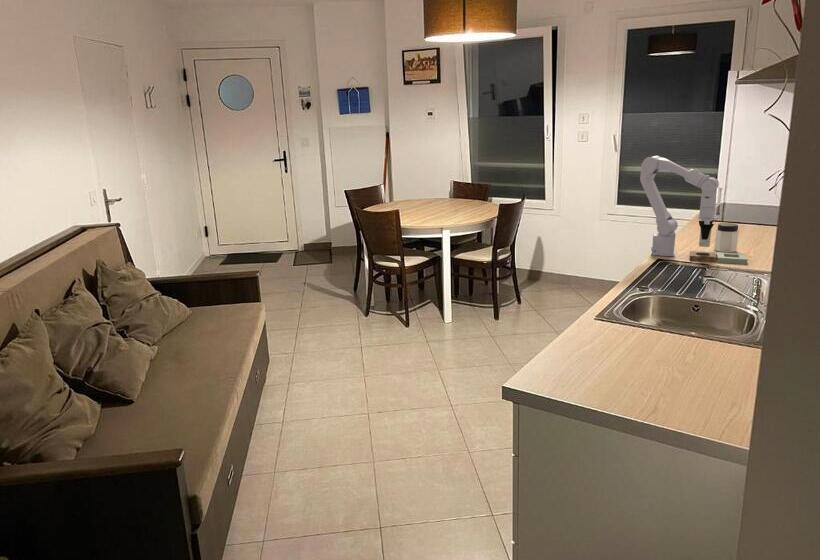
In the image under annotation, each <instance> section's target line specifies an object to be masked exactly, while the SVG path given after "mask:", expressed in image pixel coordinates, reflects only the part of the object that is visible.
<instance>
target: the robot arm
mask: <svg viewBox="0 0 820 560" xmlns="http://www.w3.org/2000/svg"><path fill="white" fill-rule="evenodd" d="M665 170H667V171H669V172H671V173H674V174H676V175H678V176H681V177H682V178H683V179H684V181H685V182H686V183H689V185H690V184H691V185H692V186H695V187H696V188H699V189H700V190H701V196H700V205H699V214H698V215H699V216H698V219H699V220H698V225H699V227H700V228H701V237H702V239H703V240H707V239H708V237H709V233H710V230H711V231H712V229H711V228H713V226H714V225H715V224H714V220H718V217H717V216H715V214H716V212H715V211H716V203H717V193H718V192H717V189H718V188H719V186H720V183H719V179H717V178H716V177H713V176H710V175H709V174H704V173H702V172H700V170H699V169H697V168H695V169H694V168H691V169H687V168H685V167H684V166H682V165H679V164H678V163H675V162H673V161H672V160H669V159H668V158H665V157H661V156H659V155H653V156H648V157H646V158H644V159H643V161H642V163H641V165H640V175H639V177H640V178H639V181H640V183H641V186H642V188H643V190H644V193H645V196H647V199H648V201H649V204H650V206H651V209H652V210H653V212H654V215H655V223H656V225H657V226H656V229H657V234H652V244H651V245H652V246H651V249H650V250H651V256H658V255H659V257H661V256H662V257H663V256H664V257H676V256H675V255H676V254H675V253H676V252H675V246H676V245H675V244H676V231H677V229H678V222H677V220H676V219H675V218H674V217H673V216H672V214H671V213H670V212H669V211H668V208H667V207H666V204H665V203H664V200H663V198H662V196H661V193H660V191H659V190H658V187H657V184H656V182H655V180H654V179H655V177H656V174H657V173H658V172H659V171H665Z"/></svg>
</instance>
